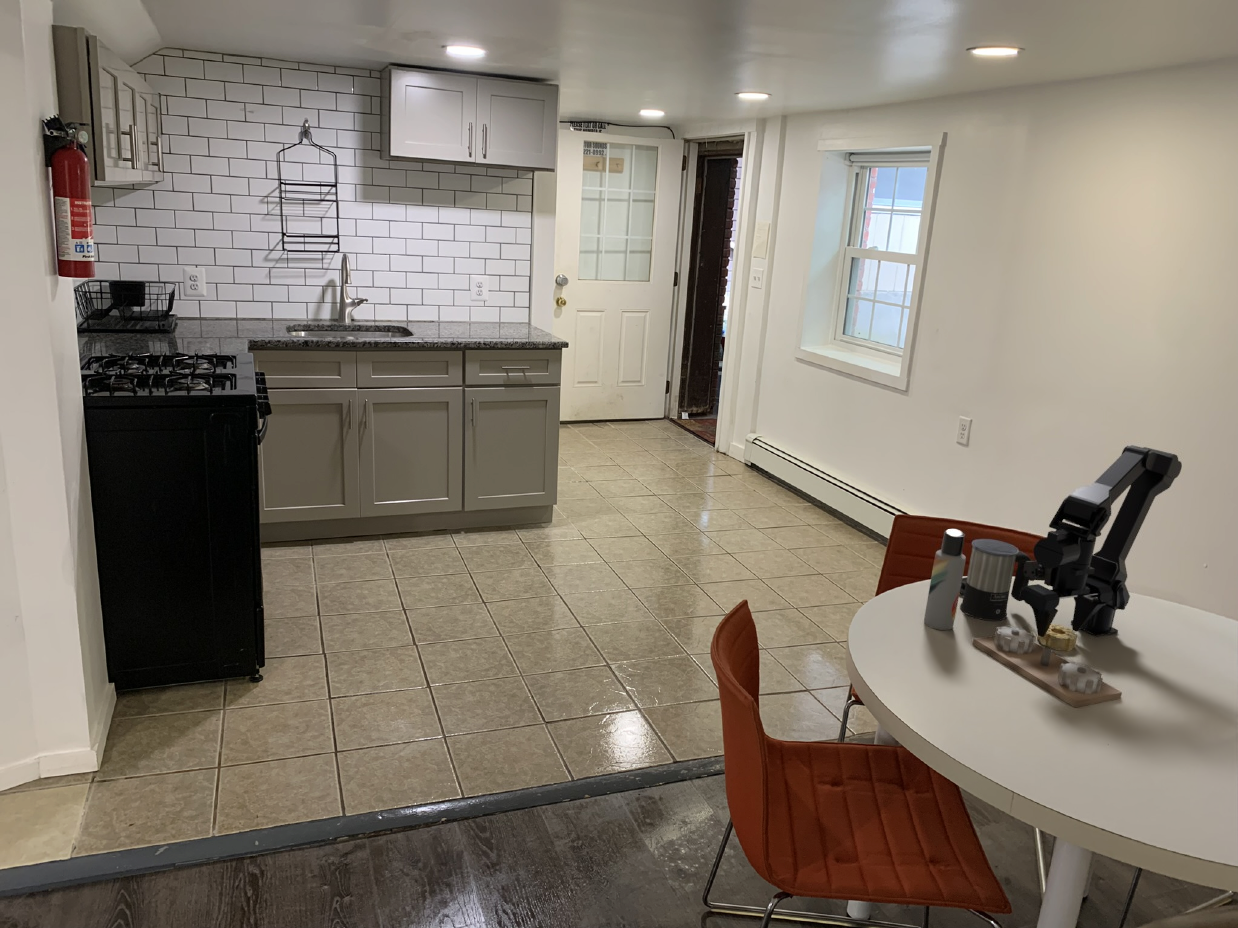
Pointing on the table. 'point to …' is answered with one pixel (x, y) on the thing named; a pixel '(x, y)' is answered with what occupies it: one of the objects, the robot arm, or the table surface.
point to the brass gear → (1059, 638)
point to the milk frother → (992, 579)
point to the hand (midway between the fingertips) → (1057, 633)
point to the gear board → (1047, 667)
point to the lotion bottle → (946, 581)
